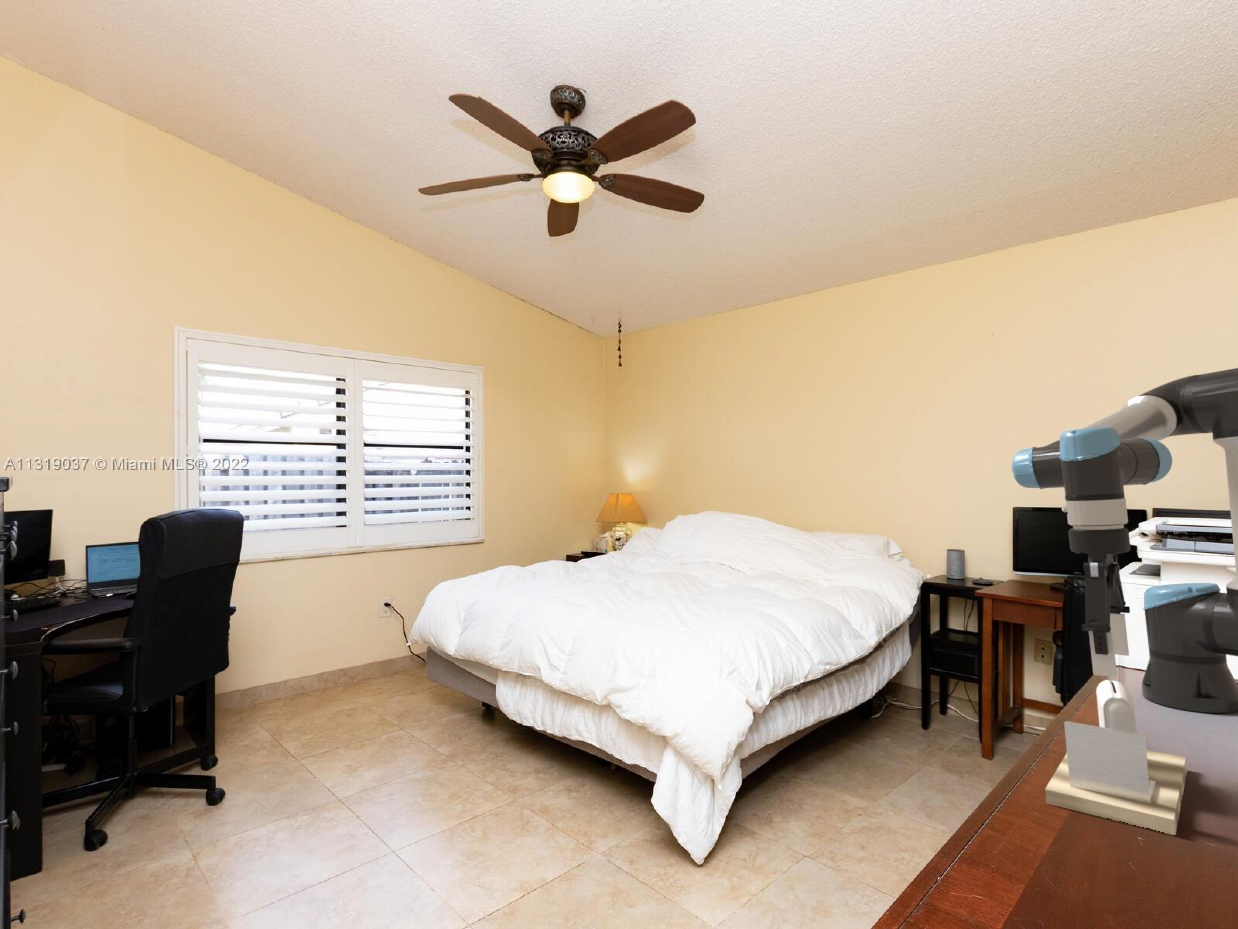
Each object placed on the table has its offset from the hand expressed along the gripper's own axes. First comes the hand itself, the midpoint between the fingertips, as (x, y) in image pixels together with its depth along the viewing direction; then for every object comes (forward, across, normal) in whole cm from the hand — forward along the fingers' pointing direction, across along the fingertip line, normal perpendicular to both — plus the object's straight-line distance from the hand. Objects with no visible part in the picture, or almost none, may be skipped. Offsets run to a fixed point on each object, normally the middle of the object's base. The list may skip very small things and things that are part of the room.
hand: (1111, 664), depth 98 cm
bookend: (+15, +9, 0) cm, 18 cm away
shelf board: (+17, +4, 0) cm, 18 cm away
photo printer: (+15, 0, 0) cm, 15 cm away
